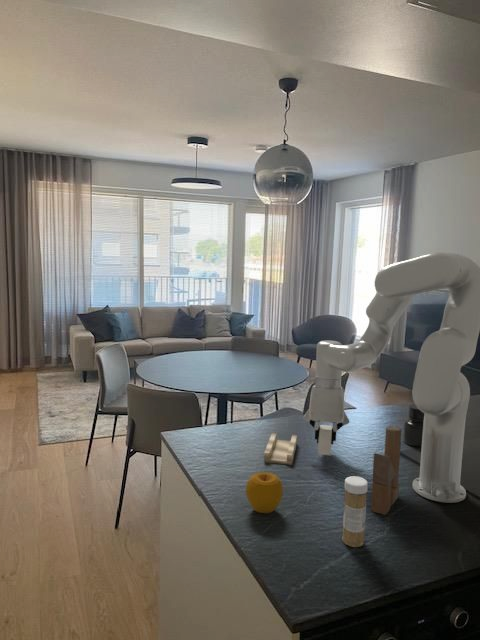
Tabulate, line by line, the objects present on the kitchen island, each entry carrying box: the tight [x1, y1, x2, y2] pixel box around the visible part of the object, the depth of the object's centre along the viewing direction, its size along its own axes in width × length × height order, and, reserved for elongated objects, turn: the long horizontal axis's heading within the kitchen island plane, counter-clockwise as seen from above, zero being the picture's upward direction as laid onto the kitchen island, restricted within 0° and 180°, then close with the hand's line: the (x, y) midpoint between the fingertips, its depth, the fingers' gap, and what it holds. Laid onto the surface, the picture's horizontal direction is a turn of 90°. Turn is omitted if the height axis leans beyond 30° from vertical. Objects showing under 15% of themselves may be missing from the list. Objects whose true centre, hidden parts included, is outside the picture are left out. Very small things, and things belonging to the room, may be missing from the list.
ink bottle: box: [402, 403, 425, 448], centre depth 155 cm, size 10×9×12 cm
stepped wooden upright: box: [370, 425, 402, 516], centre depth 115 cm, size 4×11×18 cm, turn 147°
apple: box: [245, 471, 284, 514], centre depth 111 cm, size 8×8×9 cm
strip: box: [317, 424, 333, 456], centre depth 142 cm, size 12×4×4 cm, turn 169°
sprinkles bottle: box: [341, 475, 369, 548], centre depth 99 cm, size 5×5×13 cm
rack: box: [263, 432, 298, 466], centre depth 146 cm, size 16×8×3 cm, turn 168°
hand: (325, 441), depth 145 cm, fingers closed on strip, 3 cm apart
